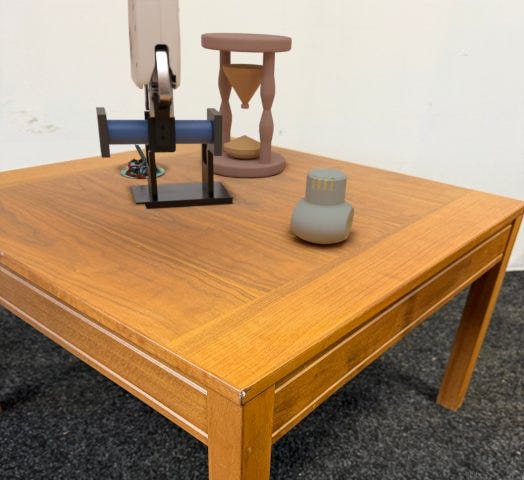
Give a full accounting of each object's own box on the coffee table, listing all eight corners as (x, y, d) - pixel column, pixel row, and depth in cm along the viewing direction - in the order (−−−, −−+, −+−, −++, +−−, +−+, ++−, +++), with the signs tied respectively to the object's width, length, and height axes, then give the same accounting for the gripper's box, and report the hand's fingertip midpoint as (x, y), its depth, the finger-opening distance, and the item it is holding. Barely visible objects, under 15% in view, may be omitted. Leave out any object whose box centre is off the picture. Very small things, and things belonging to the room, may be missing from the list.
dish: (170, 163, 111) (137, 139, 109) (150, 192, 110) (117, 168, 108) (166, 172, 118) (136, 150, 116) (147, 199, 118) (117, 177, 116)
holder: (136, 209, 94) (131, 155, 89) (131, 192, 102) (126, 141, 97) (232, 203, 98) (233, 151, 94) (220, 187, 106) (220, 139, 102)
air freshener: (304, 223, 91) (308, 161, 86) (353, 230, 89) (361, 167, 84) (285, 246, 82) (289, 179, 77) (340, 254, 80) (348, 186, 75)
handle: (101, 157, 65) (97, 114, 62) (100, 148, 69) (95, 107, 66) (222, 156, 69) (222, 115, 66) (214, 147, 73) (214, 108, 70)
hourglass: (191, 161, 122) (186, 32, 109) (258, 154, 130) (262, 33, 116) (227, 182, 110) (227, 38, 96) (300, 173, 117) (309, 39, 104)
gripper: (112, -31, 64) (125, 134, 74) (122, -35, 51) (136, 166, 61) (176, -26, 66) (180, 134, 76) (201, -29, 53) (202, 164, 63)
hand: (160, 147), depth 69 cm, fingers closed on handle, 2 cm apart
